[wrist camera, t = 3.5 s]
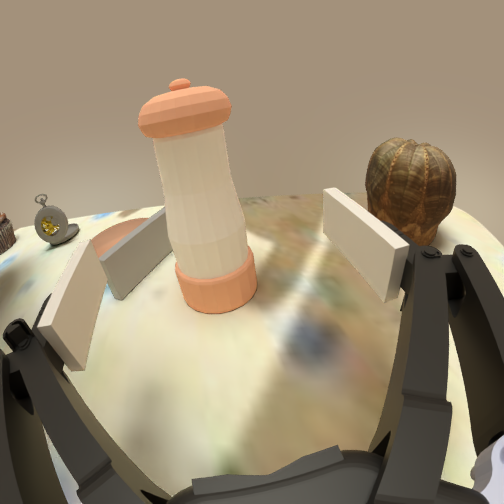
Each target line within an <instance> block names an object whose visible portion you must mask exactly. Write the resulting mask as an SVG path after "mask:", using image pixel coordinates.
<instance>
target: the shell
mask: <svg viewBox="0 0 504 504" xmlns="http://www.w3.org/2000/svg"><path fill="white" fill-rule="evenodd" d="M365 186H366V191H367V200H368V212H369V213H371V214H372V215H373V216H374V217H376V218H377V219H378V220H380V221H382V220H383V221H386V222H388V223H390V224H392V225H394V226H395V227H396V228H397V229H398V230H400V231H401V232H403V233H404V234H405V235H406V236H408V237H409V238H410V239H411V240H412V241H414V242H415V243H416V244H417V245H419V246H428V245H430V243H431V242H432V241H433V240H434V237H435V235H436V232H437V228H438V225H439V224H440V223H441V221H442V220H443V219H444V218H445V217H446V216H448V215H449V213H450V212H451V210H452V208H453V203H454V199H455V196H456V172H455V169H454V167H453V164H452V162H451V160H450V159H449V157H448V156H447V155H446V154H445V153H444V152H443V151H442V150H440V149H439V148H437V147H434V146H431V145H430V144H428V143H422V144H417V143H416V142H415V141H414V140H412V139H410V140H407V141H406V140H404V139H401V138H392V139H389V140H388V141H386V142H384V143H382V144H381V145H380V146H378V147H377V148H376V149H375V150H374V152H373V154H372V156H371V158H370V161H369V165H368V169H367V174H366V182H365Z"/></svg>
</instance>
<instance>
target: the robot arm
mask: <svg viewBox="0 0 504 504" xmlns="http://www.w3.org/2000/svg"><path fill="white" fill-rule="evenodd" d="M323 233H324V234H325V235H326V236H327V237H328V238H329V239H330V240H331V241H332V243H333V244H334V245H335V246H336V247H337V248H338V249H339V250H340V251H341V253H342V254H343V255H344V256H345V257H346V258H347V259H348V261H349V262H350V263H351V264H352V265H353V266H354V267H355V269H356V270H357V271H358V272H359V273H360V274H361V276H362V277H363V278H364V279H365V280H366V281H367V283H368V284H369V285H370V286H371V287H372V289H373V290H374V291H375V292H376V293H377V295H378V296H379V297H380V298H381V299H382V301H383V302H384V303H385V302H387V301H390V300H393V299H396V298H398V294H399V290H400V287H401V288H402V289H403V290H404V291H405V295H404V299H403V302H402V306H401V309H400V311H402V316H401V323H400V330H399V336H398V343H397V348H396V354H395V359H394V364H393V369H392V374H391V379H390V383H389V387H388V392H387V396H386V400H385V404H384V407H383V411H382V415H381V418H380V422H379V425H378V428H377V431H376V434H375V436H374V438H373V440H372V442H371V445H370V447H369V450H368V452H367V451H360V450H343V451H340V449H339V447H338V445H336V446H333V447H330V448H327V449H325V450H322V451H319V452H316V453H313V454H310V455H306V456H303V457H301V458H300V459H298V460H296V461H294V462H293V463H291V464H289V465H287V466H285V467H283V468H281V469H279V470H277V471H276V472H274V473H272V474H269V475H229V474H227V475H220V476H213V477H206V478H197V479H192V485H193V486H191V487H188V488H186V489H184V490H182V491H180V492H179V493H177V494H176V495H174V496H173V497H171V496H170V495H168V494H167V493H166V492H165V491H163V490H162V489H160V488H159V487H158V486H156V485H155V484H154V483H153V482H152V481H151V480H150V479H149V478H148V477H147V476H146V475H145V474H144V473H143V472H142V471H141V470H140V469H139V468H138V467H137V466H136V465H135V464H134V463H133V462H132V461H131V460H130V459H129V458H128V457H127V455H126V454H125V453H124V452H123V451H122V450H121V449H120V447H119V446H118V445H117V444H116V443H115V442H114V440H113V439H112V438H111V437H110V436H109V434H108V433H107V432H106V431H105V429H104V428H103V427H102V425H101V424H100V423H99V422H98V420H97V419H96V418H95V416H94V415H93V413H92V412H91V411H90V409H89V408H88V407H87V405H86V404H85V402H84V401H83V399H82V398H81V396H80V395H79V393H78V392H77V390H76V389H75V387H74V386H73V384H72V383H71V381H70V379H69V378H68V376H67V375H66V374H65V372H64V371H63V366H64V363H65V365H66V366H67V367H68V368H69V369H70V371H71V372H72V371H83V370H85V367H86V362H87V357H88V353H89V348H90V344H91V339H92V335H93V331H94V327H95V323H96V319H97V315H98V312H99V308H100V304H101V301H102V297H103V294H104V290H105V287H106V284H107V281H108V279H107V277H106V274H105V272H104V270H103V268H102V265H101V263H100V261H99V259H98V256H97V254H96V251H95V249H94V247H93V244H92V242H91V239H90V240H86V241H82V242H79V244H78V245H77V247H76V249H75V251H74V252H73V254H72V256H71V258H70V260H69V261H68V263H67V265H66V267H65V269H64V271H63V273H62V275H61V277H60V279H59V281H58V283H57V285H56V287H55V289H54V291H53V293H51V294H50V295H49V296H48V297H47V299H46V300H45V301H44V303H43V305H42V307H41V310H40V312H39V314H38V315H39V316H37V318H36V321H35V323H34V325H33V328H32V330H31V329H30V328H29V326H28V325H27V323H26V322H25V321H24V320H23V319H20V318H19V319H16V320H14V321H13V322H11V323H10V324H9V325H8V326H7V327H6V329H5V331H4V333H3V339H4V340H5V342H6V343H7V344H8V346H9V347H10V348H11V349H12V351H13V352H12V353H9V354H7V355H5V354H4V352H3V351H2V350H1V349H0V504H68V502H67V500H66V498H65V495H64V493H63V490H62V488H61V485H60V482H59V480H58V477H57V474H56V471H55V468H54V465H53V462H52V459H51V455H50V452H49V449H48V445H47V441H46V438H45V434H44V430H43V426H44V428H45V430H46V432H47V434H48V436H49V437H50V439H51V441H52V443H53V445H54V447H55V448H56V450H57V452H58V454H59V455H60V457H61V459H62V460H63V462H64V463H65V465H66V467H67V468H68V470H69V471H70V473H71V474H72V476H73V477H74V479H75V480H76V482H77V484H78V485H79V489H78V490H77V495H78V497H79V499H80V500H81V502H82V503H83V504H504V297H503V295H502V293H501V292H500V290H499V288H498V286H497V284H496V282H495V280H494V279H493V277H492V275H491V273H490V272H489V270H488V268H487V267H486V265H485V263H484V262H483V260H482V258H481V257H480V255H479V253H478V252H477V251H476V250H475V249H474V248H472V247H471V246H469V245H463V244H460V245H457V246H455V248H454V252H453V255H442V253H441V252H440V251H439V250H438V249H436V248H434V247H431V246H419V245H417V244H416V243H415V242H414V241H412V240H411V239H410V238H409V237H408V236H406V235H405V234H404V233H403V232H401V231H400V230H398V229H397V228H396V227H395V226H394V225H392V224H390V223H388V222H386V221H383V220H382V221H380V220H378V219H377V218H376V217H374V216H373V215H372V214H371V213H369V212H368V211H367V210H365V209H364V208H363V207H361V206H360V205H359V204H357V203H356V202H355V201H353V200H352V199H350V198H349V197H348V196H346V195H345V194H344V193H342V192H341V191H339V190H338V189H337V188H329V189H324V190H323ZM449 325H450V328H451V332H452V335H453V339H454V342H455V346H456V350H457V354H458V358H459V362H460V366H461V371H462V376H463V380H464V385H465V391H466V396H467V402H468V408H469V415H470V423H471V431H472V437H473V443H474V447H475V451H476V455H477V459H476V462H475V466H474V467H473V468H472V470H471V473H470V476H471V478H472V479H473V480H474V481H475V482H474V486H473V488H472V489H470V488H466V487H463V486H460V485H456V484H453V483H450V482H447V481H444V480H441V479H440V478H441V474H442V470H443V466H444V461H445V456H446V451H447V446H448V440H449V434H450V427H451V419H452V404H451V402H448V401H447V400H446V392H447V380H448V361H449ZM42 424H43V425H42Z"/></svg>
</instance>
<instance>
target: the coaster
mask: <svg viewBox="0 0 504 504" xmlns="http://www.w3.org/2000/svg"><path fill="white" fill-rule="evenodd" d="M147 219H149V218H138V219H133V220H128V221H125V222H122V223H119V224H116V225H114V226H112V227H110V228H108V229H106V230H104V231H103V232H101V233H99V234H98V235H97V236H95V237H94V238H93V239H92V240H91V242H92V244H93V247H94V249H95V251H96V254H97V256H98V258H99V257H101V256H102V255H103V254H104V253H105V252H107V251H108V250H109V249H110V248H111V247H113V246H114V245H115V244H116V243H118V242H119V241H120V240H121V239H123V238H124V237H125V236H127V235H128V234H129V233H130V232H132V231H133V230H134V229H136V228H137V227H138V226H139V225H141V224H142V223H143V222H145V221H146V220H147Z"/></svg>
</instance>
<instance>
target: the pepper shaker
mask: <svg viewBox="0 0 504 504" xmlns="http://www.w3.org/2000/svg"><path fill="white" fill-rule="evenodd" d="M189 87H190V82H189V80H188V79H177V80H174V81H173V82H171V83H170V85H169V88H170V90H171V92H168V93H165V94H162V95H159V96H155V97H154V98H152V99H151V100H150V101H148V102H147V103H146V104H145V105H144V106H143V107H142V109H141V112H140V114H139V119H138V126H139V128H140V130H141V132H142V133H143V134H144V135H145V136H146V137H151V138H153V145H154V150H155V155H156V160H157V164H158V169H159V173H160V178H161V182H162V186H163V191H164V201H165V212H166V222H167V231H168V237H169V240H170V243H171V246H172V249H173V252H174V255H175V258H176V261H177V262H176V265H175V272H176V275H177V278H178V281H179V284H180V287H181V290H182V293H183V296H184V299H185V301H186V302H187V304H188V305H189V306H190V307H191V308H193V309H195V310H196V311H199V312H203V313H207V314H208V313H224V312H228V311H232V310H234V309H236V308H238V307H240V306H242V305H244V304H245V303H246V302H247V301H249V300H250V299H251V298H252V296H253V295H254V293H255V291H256V288H257V278H256V271H255V264H254V256H253V253H252V251H251V248H250V247H249V246H248V245H247V236H246V226H245V218H244V215H243V212H242V209H241V206H240V202H239V199H238V196H237V193H236V190H235V187H234V184H233V181H232V178H231V173H230V166H229V160H228V153H227V148H226V141H225V135H224V128H223V126H222V123H223V122H225V121H227V120H228V119H229V116H230V113H231V107H232V106H231V103H230V101H229V99H228V97H227V96H226V95H225V94H224V93H223V92H222V91H221V90H219V89H215V88H212V87H209V86H203V87H193V88H189Z"/></svg>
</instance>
